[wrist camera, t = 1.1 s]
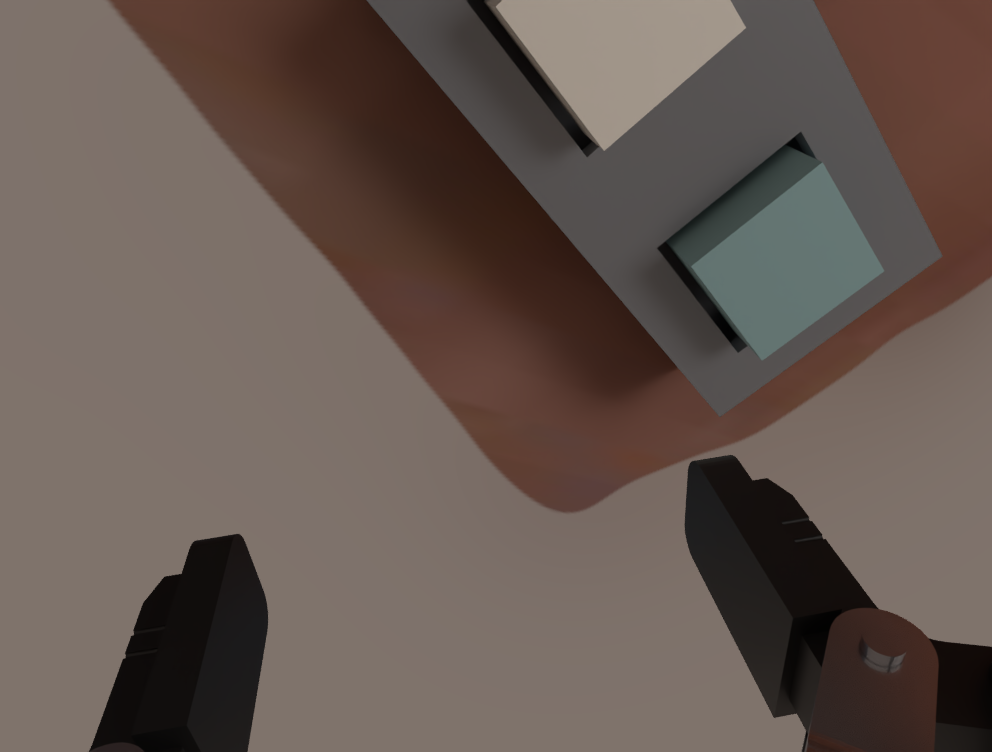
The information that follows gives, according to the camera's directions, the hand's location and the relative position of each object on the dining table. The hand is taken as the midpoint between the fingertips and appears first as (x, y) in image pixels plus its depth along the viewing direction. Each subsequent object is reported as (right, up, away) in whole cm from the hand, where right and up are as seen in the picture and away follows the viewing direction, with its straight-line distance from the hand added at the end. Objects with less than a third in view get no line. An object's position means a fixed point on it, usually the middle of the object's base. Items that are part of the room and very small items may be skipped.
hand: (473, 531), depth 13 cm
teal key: (+12, +9, +18) cm, 24 cm away
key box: (+7, +14, +19) cm, 25 cm away
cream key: (+4, +16, +13) cm, 21 cm away
